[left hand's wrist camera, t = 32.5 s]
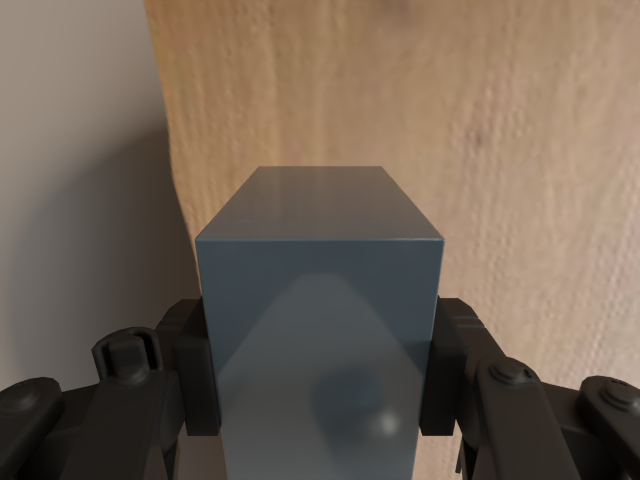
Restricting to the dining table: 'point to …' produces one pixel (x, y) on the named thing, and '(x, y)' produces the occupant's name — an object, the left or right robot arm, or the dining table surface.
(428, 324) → the brick
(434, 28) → the dining table surface
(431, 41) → the dining table surface
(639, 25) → the dining table surface
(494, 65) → the dining table surface
